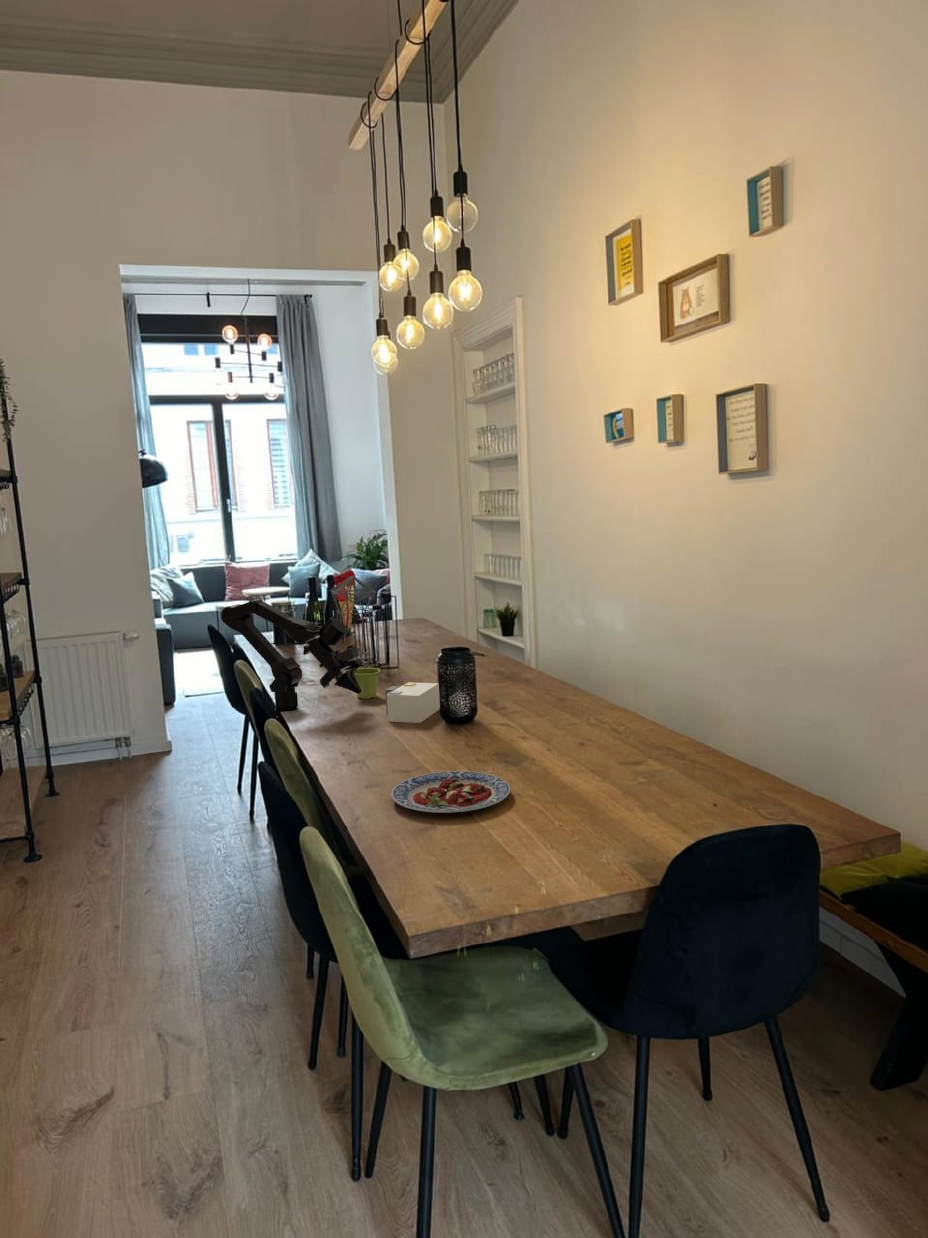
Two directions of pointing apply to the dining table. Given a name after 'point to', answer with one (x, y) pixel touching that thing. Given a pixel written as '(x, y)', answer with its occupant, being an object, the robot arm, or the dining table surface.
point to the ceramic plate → (450, 791)
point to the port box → (413, 702)
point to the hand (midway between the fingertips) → (360, 692)
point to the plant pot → (367, 682)
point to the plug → (389, 692)
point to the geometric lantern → (342, 584)
